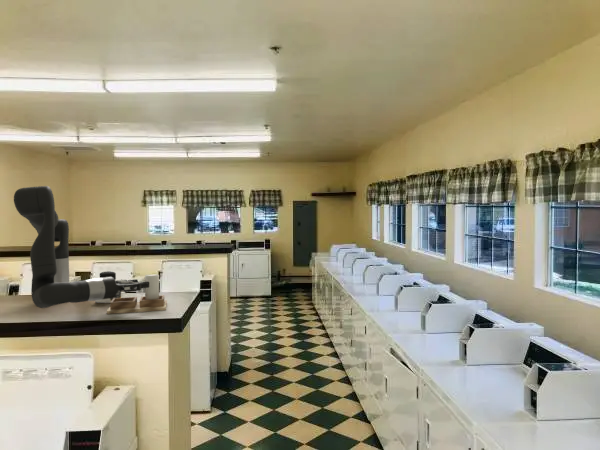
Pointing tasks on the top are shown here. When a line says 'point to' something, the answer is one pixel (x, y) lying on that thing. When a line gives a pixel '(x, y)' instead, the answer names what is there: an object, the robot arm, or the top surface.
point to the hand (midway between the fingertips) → (143, 283)
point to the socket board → (136, 305)
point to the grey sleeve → (152, 287)
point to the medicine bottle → (113, 274)
